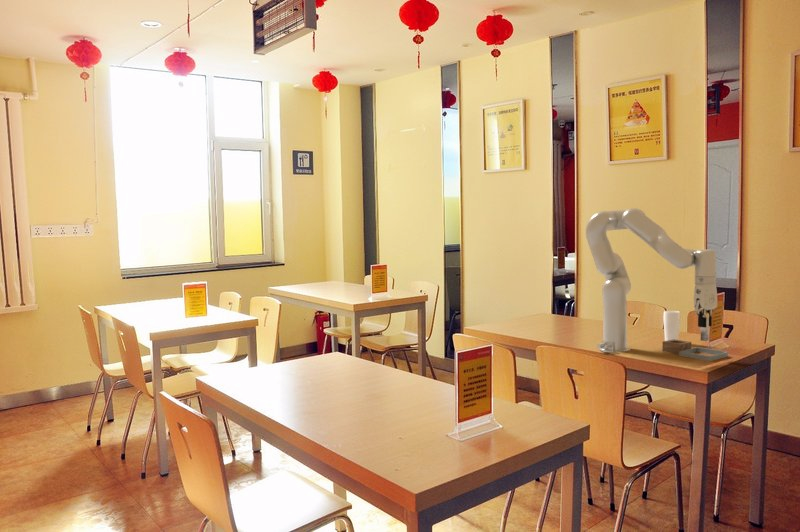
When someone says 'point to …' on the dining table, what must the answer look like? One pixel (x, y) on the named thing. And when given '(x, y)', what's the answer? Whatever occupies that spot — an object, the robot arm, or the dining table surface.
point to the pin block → (675, 346)
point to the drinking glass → (671, 324)
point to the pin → (705, 330)
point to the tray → (691, 351)
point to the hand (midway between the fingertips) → (704, 326)
